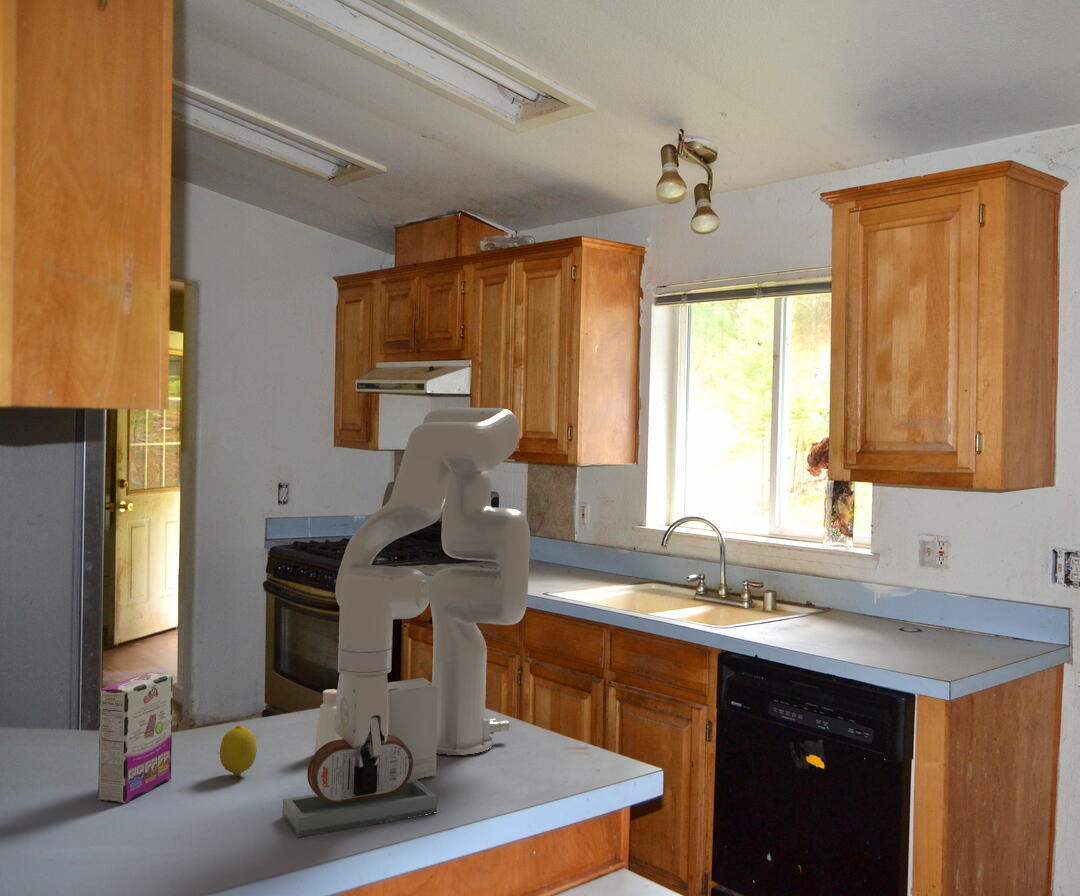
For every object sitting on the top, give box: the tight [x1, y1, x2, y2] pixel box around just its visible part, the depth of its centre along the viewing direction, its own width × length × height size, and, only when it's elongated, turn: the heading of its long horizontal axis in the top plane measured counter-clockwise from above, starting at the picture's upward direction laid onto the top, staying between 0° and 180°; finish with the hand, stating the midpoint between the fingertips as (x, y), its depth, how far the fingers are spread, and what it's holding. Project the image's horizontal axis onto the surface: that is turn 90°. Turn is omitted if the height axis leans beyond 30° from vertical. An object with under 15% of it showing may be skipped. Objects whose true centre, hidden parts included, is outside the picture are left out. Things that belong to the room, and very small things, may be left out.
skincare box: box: [388, 677, 438, 780], centre depth 151 cm, size 8×6×15 cm
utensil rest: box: [281, 779, 438, 838], centre depth 134 cm, size 20×8×2 cm, turn 119°
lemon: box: [219, 724, 258, 777], centre depth 149 cm, size 6×6×8 cm
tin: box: [306, 735, 413, 803], centre depth 134 cm, size 15×3×8 cm, turn 119°
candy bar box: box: [97, 672, 174, 804], centre depth 142 cm, size 11×5×16 cm, turn 167°
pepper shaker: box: [313, 688, 342, 755], centre depth 160 cm, size 5×5×11 cm
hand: (361, 789), depth 134 cm, fingers closed on tin, 2 cm apart
